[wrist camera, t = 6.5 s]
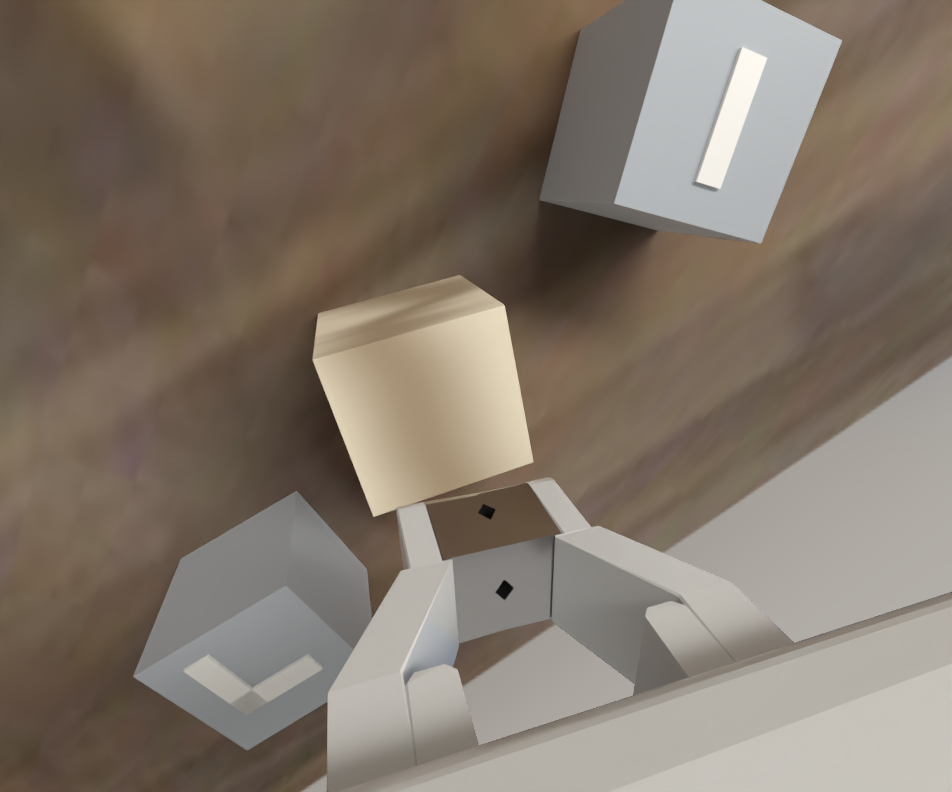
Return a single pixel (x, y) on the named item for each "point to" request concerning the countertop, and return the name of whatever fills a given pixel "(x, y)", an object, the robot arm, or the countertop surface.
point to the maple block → (423, 390)
